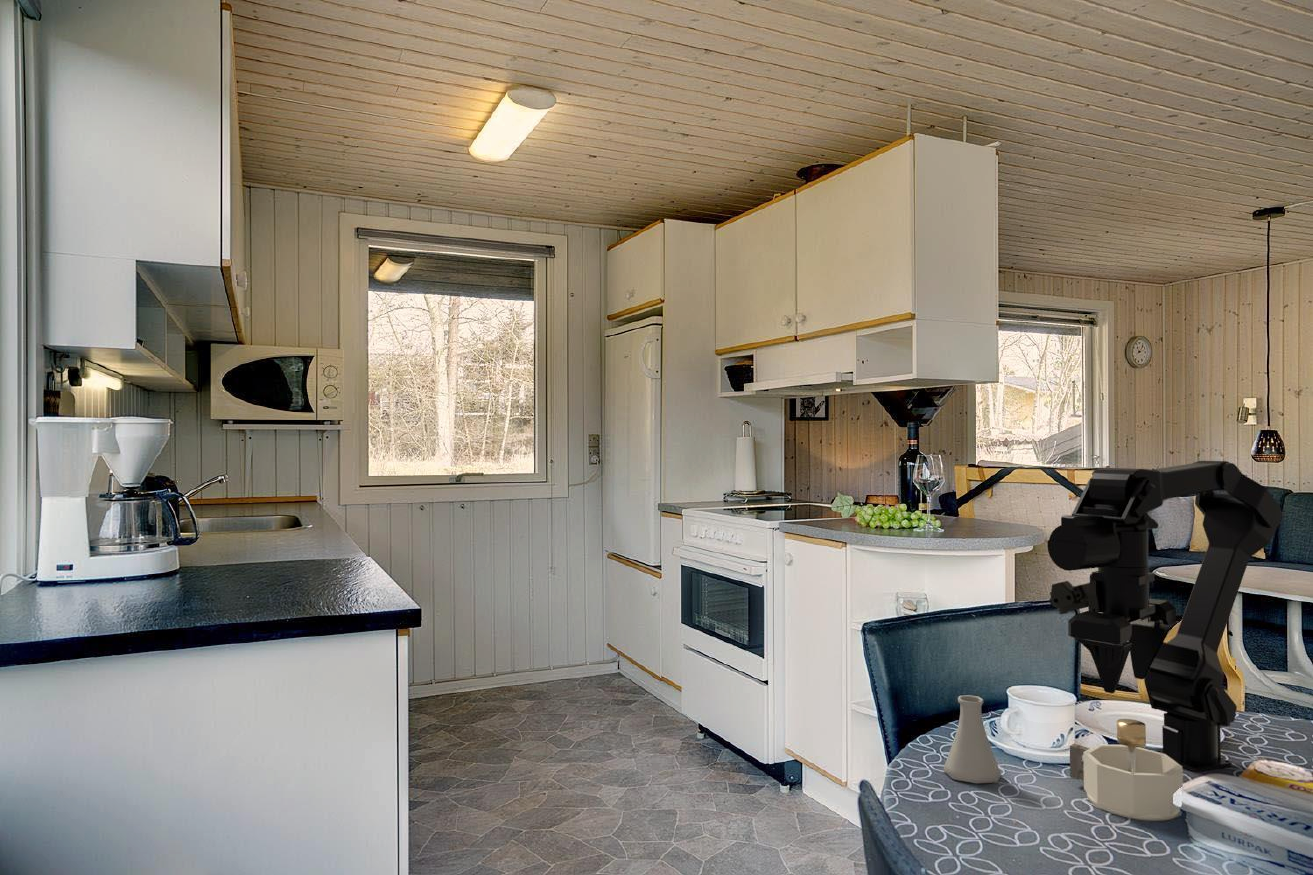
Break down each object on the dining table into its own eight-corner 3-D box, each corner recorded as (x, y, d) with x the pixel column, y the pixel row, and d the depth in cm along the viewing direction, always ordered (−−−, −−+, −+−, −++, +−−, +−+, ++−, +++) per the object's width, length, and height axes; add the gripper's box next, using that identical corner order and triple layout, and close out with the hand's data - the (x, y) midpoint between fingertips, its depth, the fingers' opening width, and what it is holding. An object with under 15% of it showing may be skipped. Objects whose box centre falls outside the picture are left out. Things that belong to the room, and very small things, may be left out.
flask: (1006, 787, 105) (1005, 708, 105) (946, 783, 107) (945, 705, 107) (995, 765, 112) (994, 691, 113) (939, 761, 114) (938, 689, 114)
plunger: (1113, 779, 106) (1112, 709, 106) (1176, 798, 100) (1175, 723, 100) (1088, 795, 101) (1086, 722, 101) (1152, 815, 95) (1151, 737, 95)
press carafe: (1089, 773, 109) (1089, 734, 109) (1193, 803, 100) (1192, 760, 100) (1054, 794, 103) (1053, 752, 103) (1161, 828, 94) (1160, 782, 94)
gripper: (1090, 551, 120) (1092, 660, 120) (1026, 565, 108) (1028, 685, 108) (1176, 559, 111) (1178, 676, 111) (1117, 575, 99) (1119, 706, 99)
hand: (1124, 685), depth 108 cm, fingers open, 9 cm apart
